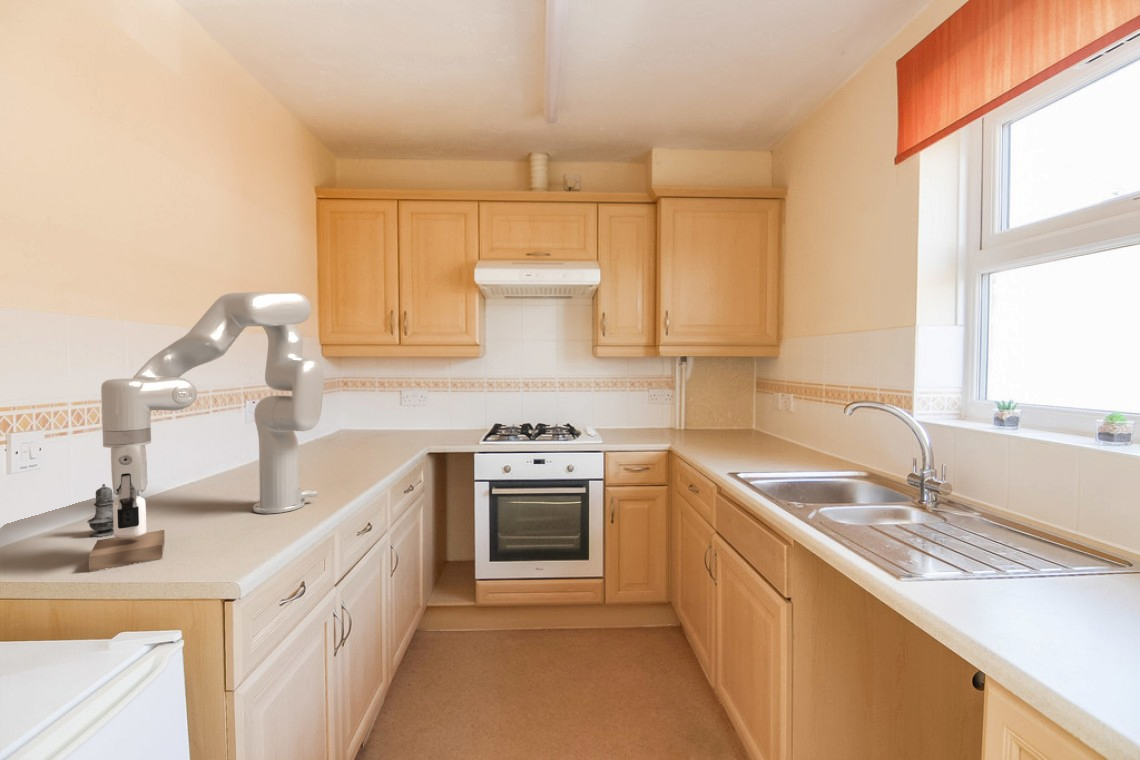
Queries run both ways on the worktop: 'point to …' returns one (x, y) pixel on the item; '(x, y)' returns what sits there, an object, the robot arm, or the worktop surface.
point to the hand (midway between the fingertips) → (129, 522)
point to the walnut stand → (126, 550)
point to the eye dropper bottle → (131, 531)
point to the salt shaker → (103, 513)
